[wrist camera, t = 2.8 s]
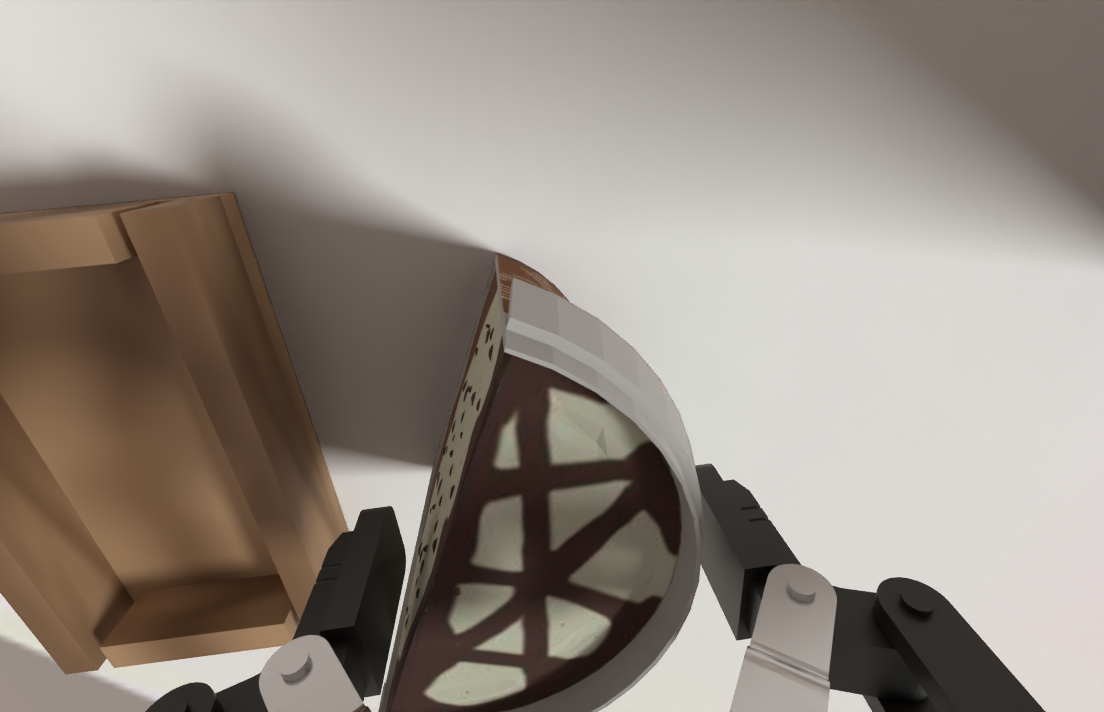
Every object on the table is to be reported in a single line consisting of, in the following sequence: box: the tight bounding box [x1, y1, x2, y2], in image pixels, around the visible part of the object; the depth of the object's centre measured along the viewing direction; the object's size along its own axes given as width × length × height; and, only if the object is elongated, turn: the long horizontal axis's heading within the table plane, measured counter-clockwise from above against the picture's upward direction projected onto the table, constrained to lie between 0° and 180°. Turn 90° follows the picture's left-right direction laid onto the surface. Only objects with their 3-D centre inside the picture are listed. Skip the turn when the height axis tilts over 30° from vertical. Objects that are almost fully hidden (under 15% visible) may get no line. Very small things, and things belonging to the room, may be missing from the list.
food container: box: [379, 253, 704, 712], centre depth 15 cm, size 12×6×10 cm, turn 161°
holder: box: [0, 192, 349, 674], centre depth 17 cm, size 10×16×3 cm, turn 5°
